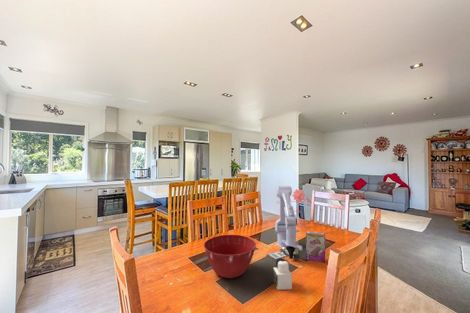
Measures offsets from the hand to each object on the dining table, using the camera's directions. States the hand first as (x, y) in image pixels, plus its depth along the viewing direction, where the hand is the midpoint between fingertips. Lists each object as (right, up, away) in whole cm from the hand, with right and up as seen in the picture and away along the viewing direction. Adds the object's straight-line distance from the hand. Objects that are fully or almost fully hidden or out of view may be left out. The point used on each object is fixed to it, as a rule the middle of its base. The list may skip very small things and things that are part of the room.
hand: (291, 258), depth 127 cm
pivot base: (-1, -2, +10) cm, 10 cm away
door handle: (+1, 0, +5) cm, 5 cm away
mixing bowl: (-37, -1, -14) cm, 40 cm away
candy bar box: (+15, -2, +1) cm, 16 cm away
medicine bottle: (-11, -1, -26) cm, 29 cm away
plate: (-7, -2, +6) cm, 10 cm away
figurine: (+28, -5, +76) cm, 81 cm away
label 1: (-9, -1, +5) cm, 11 cm away
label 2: (-5, -1, +8) cm, 9 cm away
